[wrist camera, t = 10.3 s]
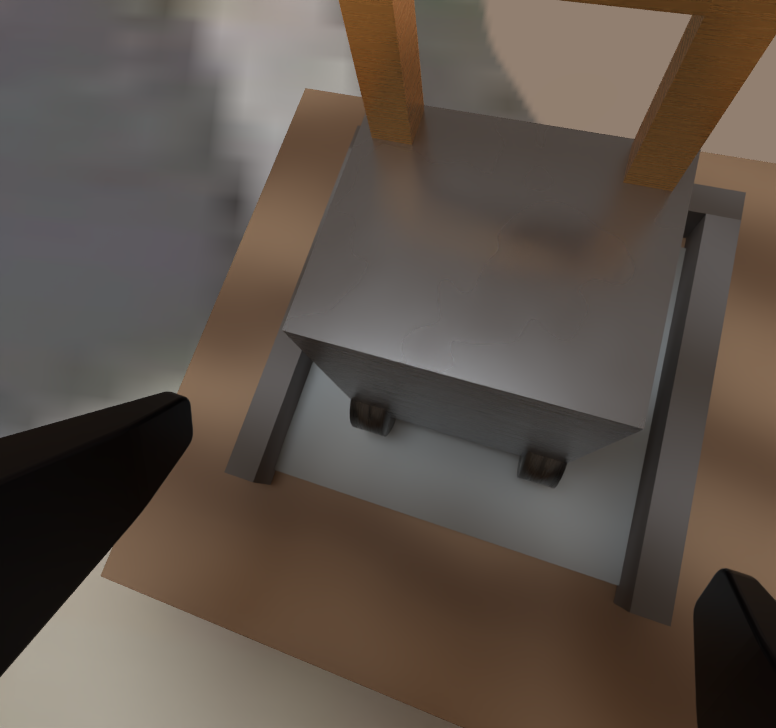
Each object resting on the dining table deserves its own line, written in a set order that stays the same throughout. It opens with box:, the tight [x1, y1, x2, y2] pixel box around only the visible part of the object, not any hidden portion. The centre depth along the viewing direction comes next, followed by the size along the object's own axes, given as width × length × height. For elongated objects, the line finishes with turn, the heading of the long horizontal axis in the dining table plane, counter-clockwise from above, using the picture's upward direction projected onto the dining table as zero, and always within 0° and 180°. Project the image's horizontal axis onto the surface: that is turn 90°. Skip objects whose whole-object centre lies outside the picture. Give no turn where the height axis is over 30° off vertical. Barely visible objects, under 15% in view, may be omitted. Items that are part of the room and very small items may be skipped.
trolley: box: [282, 0, 776, 488], centre depth 11 cm, size 6×6×12 cm
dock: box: [101, 88, 776, 728], centre depth 18 cm, size 20×20×4 cm
